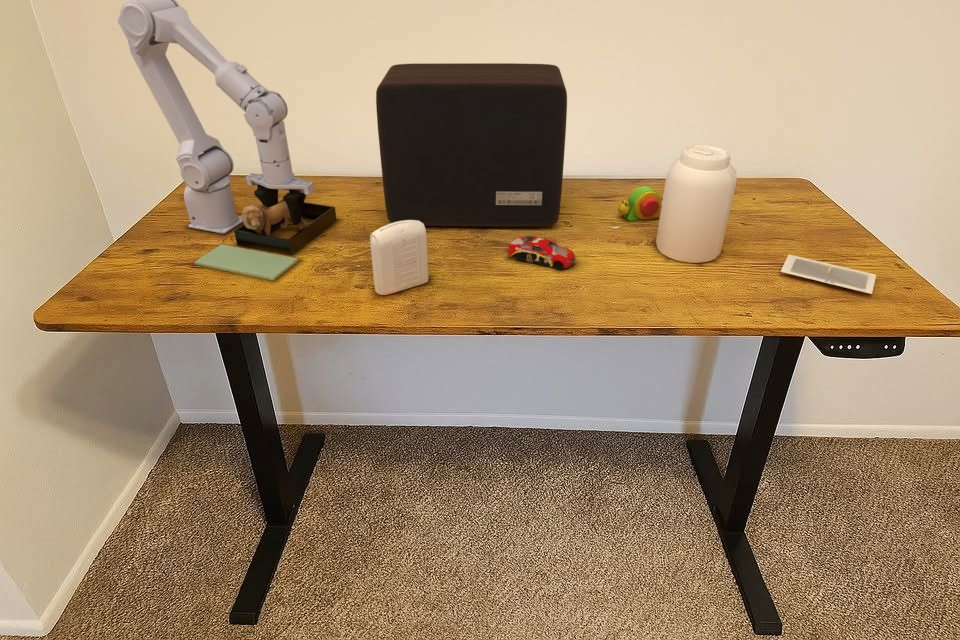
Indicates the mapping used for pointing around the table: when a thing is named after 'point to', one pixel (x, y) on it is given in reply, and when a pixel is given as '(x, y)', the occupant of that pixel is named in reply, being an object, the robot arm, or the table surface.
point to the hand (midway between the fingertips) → (286, 221)
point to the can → (696, 204)
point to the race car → (541, 252)
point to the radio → (472, 143)
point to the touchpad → (829, 273)
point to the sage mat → (246, 262)
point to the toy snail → (641, 204)
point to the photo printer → (399, 256)
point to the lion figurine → (266, 217)
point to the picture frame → (311, 211)
